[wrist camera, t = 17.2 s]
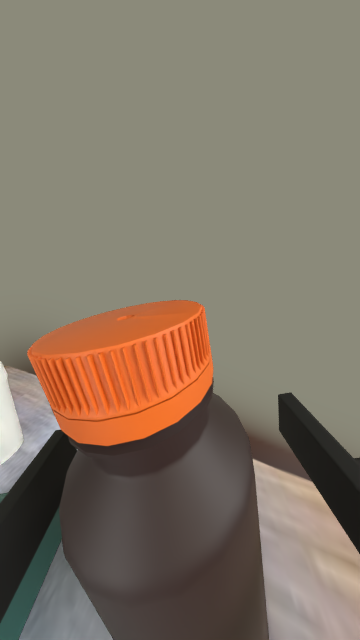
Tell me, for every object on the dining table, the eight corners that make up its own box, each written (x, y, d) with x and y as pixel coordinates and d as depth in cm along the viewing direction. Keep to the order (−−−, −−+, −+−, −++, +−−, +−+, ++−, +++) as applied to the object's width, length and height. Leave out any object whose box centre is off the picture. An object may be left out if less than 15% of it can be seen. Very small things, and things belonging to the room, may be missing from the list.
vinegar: (249, 544, 13) (220, 287, 8) (300, 799, 7) (317, 356, 2) (164, 543, 14) (88, 310, 9) (140, 771, 8) (-179, 412, 3)
